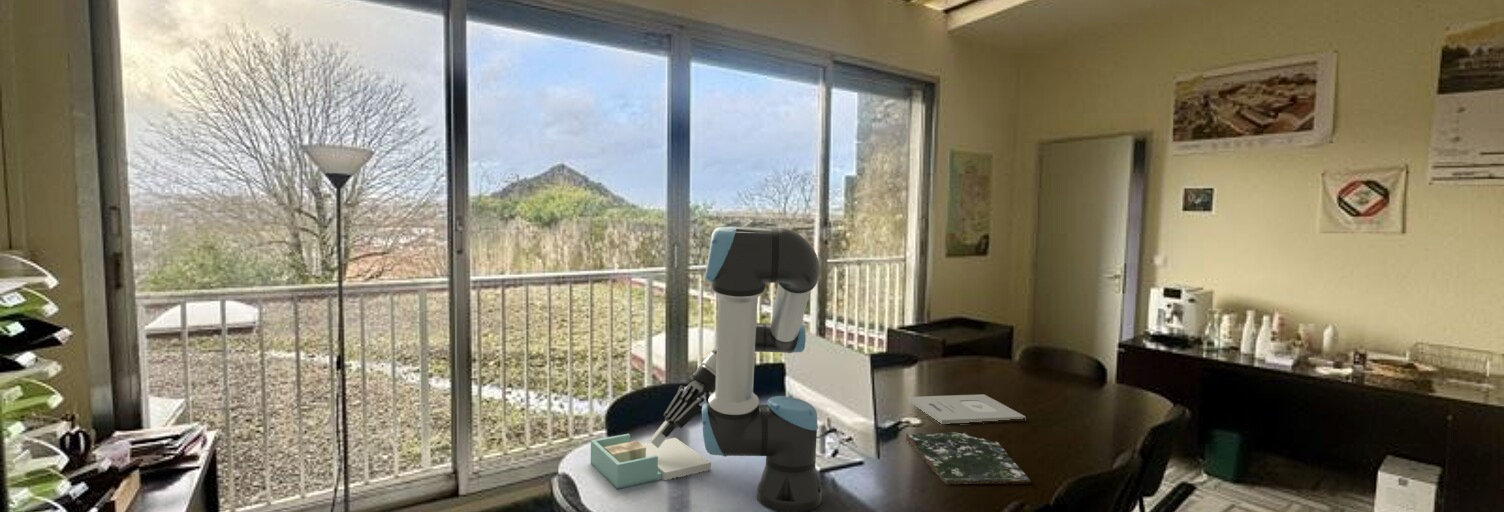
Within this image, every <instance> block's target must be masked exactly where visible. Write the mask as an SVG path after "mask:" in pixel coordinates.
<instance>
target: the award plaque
mask: <svg viewBox="0 0 1504 512" xmlns="http://www.w3.org/2000/svg"><path fill="white" fill-rule="evenodd" d="M908 401H909V402H910V403H912V404H913V405H915V406H916V407H918V408H919V409H921V410H922V411H923V412H925V413H926V414H928V415H929V416H931V417H932V418H934V419H935V420H937V421H938V422H940V423H941V424H950V423H969V422H982V421H998V420H1010V419H1023V418H1025V420H1026V416H1025V415H1023V414H1022V413H1020V412H1018V411H1016V410H1014V409H1012V408H1010V407H1009V406H1007V405H1005V404H1003V403H1001V402H1000V401H998V400H996V399H994V398H992V397H989V396H988V395H986V394H958V395H957V394H956V395H951V394H950V395H929V396H927V395H926V396H925V395H924V396H907V402H908ZM909 402H908V403H909ZM910 403H909V404H910ZM912 404H911V405H912ZM913 405H912V406H913ZM915 406H914V407H915ZM916 407H915V408H916ZM918 408H917V409H918ZM919 409H918V410H919ZM922 411H921V412H922ZM923 412H922V413H923ZM925 413H924V414H925ZM926 414H925V415H926ZM928 415H927V416H928ZM929 416H928V417H929ZM931 417H930V418H931ZM932 418H931V419H932ZM935 420H934V421H935ZM938 422H937V423H938ZM941 424H940V425H941Z"/></svg>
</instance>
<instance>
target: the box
mask: <svg viewBox="0 0 1504 512" xmlns="http://www.w3.org/2000/svg"><path fill="white" fill-rule="evenodd" d="M627 442H631V434H630V433H625V434H619V435H613V436H608V437H603V438H597V439H592V440H590V464H591V465H592V466H593V467H594V468H595V469H596V471H598V472H599V473H600V474H601V475H602V476H603V477H604V478H605V479H606V480H607V481H608V482H609V483H610V484H611V485H612V486H613V487H614V488H615V489H616V490H620V489H621V490H622V489H624V488H630V487H634V486H638V485H643V484H647V483H653V482H656V481H660V480H659V479H661V480H662V478H661V473H660V472H659V471H658V456H657V455H655V456H650V457H645V458H640V459H635V460H631V461H626V462H621V463H620V462H619V461H617V460H616V459H615V458H614V457H613V456H612V455H611V454H610V453H609V452H608V451H606V450H605V449H604V447H607V446H612V445H617V444H622V443H627Z"/></svg>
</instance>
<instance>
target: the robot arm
mask: <svg viewBox="0 0 1504 512" xmlns="http://www.w3.org/2000/svg"><path fill="white" fill-rule="evenodd" d="M708 247H709V248H708V255H707V262H706V267H705V273H704V274H705V276H704V280H705V281H707V282H709V283H711V291H712V292H713V293H714V294H716V295H717V325H716V327H717V328H716V345H715V347H714V348H713V350H712V351H711V352H710V353H708V355H707V356H706V357H705V359H703V361H702V362H701V365H700V366H698V368H697V369H696V370H695V371H694V372H693V373H692V375H691V377H692V380H691V382H689V383H688V384H687V386H683V385H680V386H678V390H677V392H676V394H675V396H674V397H673V399H672V400H671V402H670V403H669V404H668V406H667V408H666V410H665V411H664V413H663V417H664V421H663V422H662V424H661V425H660V426H659V427H658V428H657V430H656V431H655V433H654V434H652V436H651V437H650V439H649V440H648V441H649V443H650V442H651V443H652V444H654V445H655V446H656V447H657V448H659V446H660V445H661V444H662V443H663V441H664V440H666V439H668V437H669V436H670V434H671V433H672V432H673V431H674V430H675V429H678V428H679V429H682V428H684V426H685V425H687V424H688V423H689V421H691V420H692V419H693V418H694V417H695V416H696V415H697V414H698V413H699V412H701V409H702V412H701V421H702V435H703V436H702V437H703V442H704V447H705V450H706V452H707V453H708V454H709V455H711V456H722V457H732V456H733V457H739V456H740V457H765V466H764V468H763V471H762V475H761V477H760V481H759V483H758V485H757V489H756V499H757V500H758V501H757V502H759V503H760V504H761V505H762V506H763V507H765V508H767V509H770V510H772V511H776V512H811V511H813V510H815V509H816V508H818V507H819V506H820V505H821V503H822V499H823V497H822V494H823V492H822V487H821V484H820V480H819V477H818V473H817V470H816V461H817V457H816V456H817V439H818V438H817V437H818V429H819V425H818V412H817V409H816V408H815V406H814V405H812V404H811V403H809V402H807V401H805V400H803V399H800V398H796V397H791V396H784V395H776V396H772V397H769V398H768V400H767V402H766V404H760V399H759V397H758V395H757V394H755V392H754V379H755V378H754V377H755V375H754V374H755V360H756V359H755V357H756V353H786V354H793V353H802V352H803V351H805V347H806V337H807V335H806V328H805V326H804V325H803V324H802V323H803V319H804V316H805V312H806V307H807V304H808V302H809V301H808V300H809V297H810V292H811V291H812V290H813V289H815V287H816V285H817V284H818V280H819V278H820V272H821V271H820V270H821V268H820V267H821V266H820V265H821V264H820V261H819V260H820V259H819V258H818V255H817V253H816V250H815V249H814V248H813V246H812V245H811V243H810V242H809V241H808V240H807V239H806V238H804V237H803V236H802V235H801V234H799V233H798V232H795V231H793V230H792V229H791V230H790V229H788V228H781V227H777V228H776V227H775V228H773V227H772V228H771V227H768V228H767V227H752V226H751V227H749V226H748V227H747V226H737V225H734V226H726V227H725V226H723V227H722V226H721V227H720V226H719V227H716V228H715V229H713V231H712V233H711V237H710V240H709V246H708ZM767 283H770V284H776V283H777V287H776V288H777V289H776V292H775V293H776V294H775V298H774V299H775V300H774V304H773V310H772V316H771V320H770V321H771V322H770V323H765V322H764V323H763V322H757V318H758V298H759V297H761V296H762V294H764V292H765V291H766V284H767ZM709 393H710V395H709ZM708 395H709V396H708ZM707 397H708V401H707Z"/></svg>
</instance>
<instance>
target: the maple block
mask: <svg viewBox="0 0 1504 512" xmlns="http://www.w3.org/2000/svg"><path fill="white" fill-rule="evenodd" d="M642 444H643V443H640V442H639V441H638V440H632V441H630V442H627V443H622V444H617V445H612V446H607V447H604V449H605V450H606V451H608V452H609V453H610V454H611V455H612V456H613V457H614V458H615V459H616V460H617V461H619V462H620V463H621V462H626V461H631V460H635V459H640V458H645V457H646V447H645V446H643V445H642Z"/></svg>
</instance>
